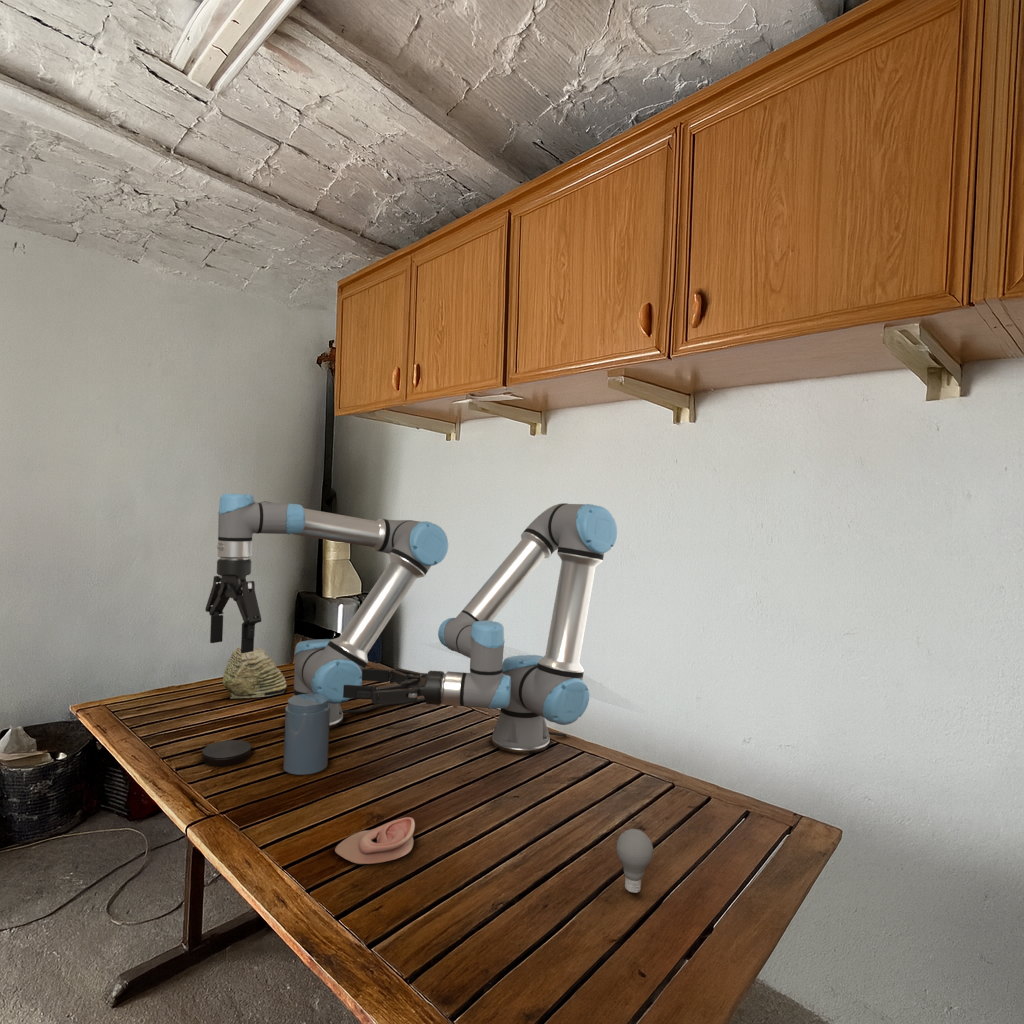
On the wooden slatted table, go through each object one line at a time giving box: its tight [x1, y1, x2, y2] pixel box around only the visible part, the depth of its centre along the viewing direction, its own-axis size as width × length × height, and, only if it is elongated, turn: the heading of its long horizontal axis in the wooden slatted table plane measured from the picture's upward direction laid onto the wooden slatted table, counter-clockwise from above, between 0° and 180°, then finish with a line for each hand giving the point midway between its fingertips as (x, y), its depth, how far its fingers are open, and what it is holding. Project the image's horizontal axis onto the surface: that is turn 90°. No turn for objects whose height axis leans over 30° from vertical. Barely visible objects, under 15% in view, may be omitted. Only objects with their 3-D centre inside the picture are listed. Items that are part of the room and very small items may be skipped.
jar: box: [282, 694, 330, 776], centre depth 149 cm, size 10×10×16 cm
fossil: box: [222, 646, 288, 699], centre depth 198 cm, size 9×18×15 cm, turn 132°
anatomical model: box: [334, 816, 416, 865], centre depth 115 cm, size 13×4×12 cm
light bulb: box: [615, 828, 654, 894], centre depth 106 cm, size 6×6×10 cm
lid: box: [201, 739, 252, 767], centre depth 152 cm, size 11×11×2 cm
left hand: (231, 647), depth 151 cm, fingers open, 13 cm apart
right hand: (353, 682), depth 147 cm, fingers open, 13 cm apart
